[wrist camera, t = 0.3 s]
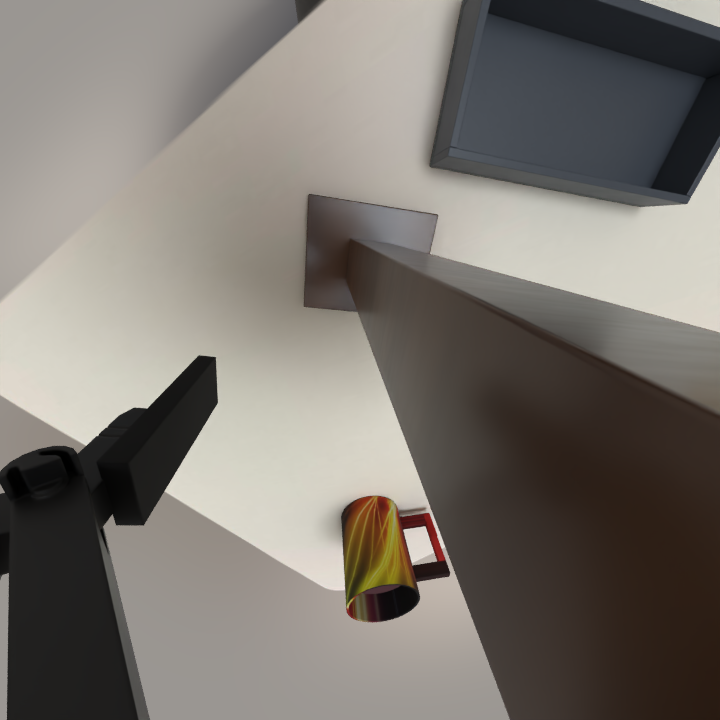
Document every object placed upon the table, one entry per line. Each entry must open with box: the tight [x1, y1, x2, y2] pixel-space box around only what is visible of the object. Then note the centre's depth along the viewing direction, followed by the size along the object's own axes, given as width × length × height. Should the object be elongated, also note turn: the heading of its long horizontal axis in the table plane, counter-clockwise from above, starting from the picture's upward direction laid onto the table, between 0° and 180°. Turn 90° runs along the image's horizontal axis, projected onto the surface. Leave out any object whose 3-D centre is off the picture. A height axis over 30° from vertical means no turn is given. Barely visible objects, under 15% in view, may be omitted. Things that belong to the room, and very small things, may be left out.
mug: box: [341, 496, 450, 622], centre depth 40 cm, size 10×14×12 cm
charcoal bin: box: [430, 0, 720, 207], centre depth 22 cm, size 23×10×4 cm, turn 83°
